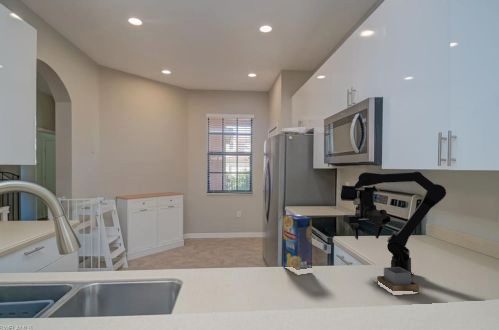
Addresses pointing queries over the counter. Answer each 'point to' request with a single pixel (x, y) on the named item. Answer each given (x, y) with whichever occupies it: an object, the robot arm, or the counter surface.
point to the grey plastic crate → (397, 276)
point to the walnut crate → (412, 287)
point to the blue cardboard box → (297, 241)
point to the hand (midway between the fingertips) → (367, 238)
